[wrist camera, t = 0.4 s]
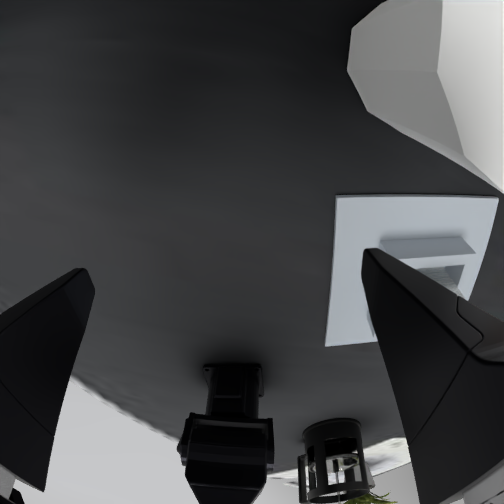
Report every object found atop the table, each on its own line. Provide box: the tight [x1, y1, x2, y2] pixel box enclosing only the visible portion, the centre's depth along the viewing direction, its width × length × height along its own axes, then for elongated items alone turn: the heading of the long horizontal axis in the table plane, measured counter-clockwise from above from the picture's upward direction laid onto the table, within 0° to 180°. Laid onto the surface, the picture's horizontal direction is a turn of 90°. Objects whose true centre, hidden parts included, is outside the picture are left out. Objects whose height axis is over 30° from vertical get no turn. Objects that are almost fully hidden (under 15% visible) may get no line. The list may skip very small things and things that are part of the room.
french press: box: [298, 418, 370, 504], centre depth 33 cm, size 12×9×23 cm
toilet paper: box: [347, 0, 504, 194], centre depth 12 cm, size 10×10×12 cm
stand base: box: [324, 194, 499, 346], centre depth 24 cm, size 16×16×4 cm
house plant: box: [343, 462, 397, 504], centre depth 48 cm, size 14×14×16 cm
